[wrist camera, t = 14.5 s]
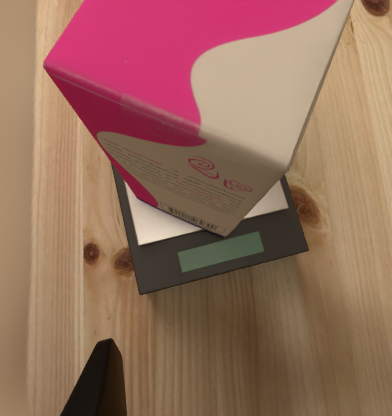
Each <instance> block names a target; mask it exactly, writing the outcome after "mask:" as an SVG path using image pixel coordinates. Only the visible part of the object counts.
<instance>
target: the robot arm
mask: <svg viewBox="0 0 392 416" xmlns="http://www.w3.org/2000/svg"><path fill="white" fill-rule="evenodd" d="M60 416H127V408H126V396H125V384H124V372H123V361H122V355H121V353H120V351H119V349H118V347H117V345H116V344H115V342H114V340H113V339H111V338H109V339H105V340H102V341H99V342H98V343H97V344H96V346H95V348H94V350H93V352H92V354H91V356H90V358H89V360H88V361H87V363H86V365H85V367H84V369H83V371H82V373H81V375H80V377H79V379H78V381H77V383H76V385H75V387H74V389H73V391H72V393H71V395H70V397H69V399H68V401H67V403H66V405H65V407H64V409H63V411H62V413H61V415H60Z"/></svg>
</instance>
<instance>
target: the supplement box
mask: <svg viewBox="0 0 392 416" xmlns="http://www.w3.org/2000/svg"><path fill="white" fill-rule="evenodd" d="M353 3H354V0H84V1H83V3H82V4H81V6H80V7H79V9H78V10H77V12H76V13H75V15H74V16H73V18H72V19H71V21H70V22H69V24H68V25H67V27H66V29H65V30H64V32H63V33H62V35H61V36H60V38H59V39H58V40H57V42H56V43H55V45H54V46H53V48H52V49H51V51H50V53H49V54H48V56H47V57H46V59H45V60H44V64H43V67H44V69H45V70H46V72H47V73H48V75H49V76H50V77H51V79H52V80H53V82H54V83H55V84H56V86H57V87H58V88H59V90H60V91H61V93H62V94H63V95H64V97H65V98H66V99H67V101H68V102H69V104H70V105H71V106H72V108H73V109H74V111H75V112H76V113H77V115H78V116H79V118H80V119H81V120H82V122H83V123H84V125H85V126H86V127H87V129H88V130H89V132H90V133H91V134H92V136H93V137H94V138H95V140H96V141H97V143H98V144H99V145H100V147H101V148H102V150H103V151H104V152H105V154H106V155H107V157H108V158H109V160H110V161H111V162H112V164H113V165H114V167H115V168H116V169H117V171H118V172H119V174H120V175H121V176H122V178H123V179H124V180H125V182H126V183H127V185H128V186H129V187H130V189H131V190H132V192H133V193H134V195H135V196H136V198H137V199H139V200H141V201H142V202H144V203H147V204H149V205H151V206H153V207H155V208H157V209H159V210H161V211H164V212H166V213H168V214H170V215H173V216H175V217H177V218H179V219H181V220H184V221H186V222H188V223H190V224H193V225H195V226H197V227H200V228H202V229H204V230H207V231H209V232H211V233H214V234H216V235H219V236H221V237H223V238H225V237H226V236H227V235H229V234H230V232H231V231H232V230H233V229H234V228H235V227H236V226H237V225H238V224H239V223H240V222H241V221H242V220H243V218H244V217H245V216H246V215H247V214H248V213H249V212H250V211H251V210H252V209H253V207H254V206H255V205H256V204H257V203H258V202H259V201H260V200H261V199H262V198H263V197H264V196H265V195H266V194H267V193H268V191H269V190H270V189H271V188H272V187H273V186H274V185H275V184H276V183H277V182H278V181H279V180H280V179H281V178H282V177H283V175H284V174H285V173H286V172H287V171H288V170H289V168H290V166H291V165H292V162H293V159H294V157H295V154H296V152H297V150H298V147H299V145H300V142H301V140H302V137H303V135H304V132H305V129H306V127H307V124H308V121H309V119H310V116H311V113H312V111H313V108H314V106H315V103H316V101H317V98H318V95H319V93H320V90H321V88H322V85H323V82H324V80H325V77H326V74H327V72H328V69H329V66H330V64H331V61H332V58H333V56H334V53H335V51H336V48H337V45H338V43H339V40H340V37H341V35H342V32H343V29H344V27H345V24H346V21H347V19H348V16H349V13H350V11H351V8H352V5H353Z"/></svg>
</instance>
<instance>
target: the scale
mask: <svg viewBox="0 0 392 416" xmlns="http://www.w3.org/2000/svg"><path fill="white" fill-rule="evenodd" d="M111 165H112V169H113V174H114V179H115V183H116V188H117V193H118V197H119V202H120V207H121V211H122V216H123V221H124V225H125V230H126V235H127V239H128V244H129V249H130V253H131V258H132V263H133V267H134V272H135V277H136V281H137V286H138V291H139V294H140V295H143V294H147V293H151V292H155V291H158V290H162V289H166V288H170V287H174V286H177V285H181V284H185V283H189V282H193V281H196V280H200V279H204V278H208V277H212V276H215V275H219V274H223V273H227V272H230V271H234V270H238V269H242V268H246V267H249V266H253V265H257V264H261V263H265V262H268V261H272V260H276V259H280V258H284V257H287V256H291V255H295V254H299V253H303V252H306V251H309V249H308V246H307V242H306V239H305V236H304V233H303V230H302V227H301V224H300V221H299V218H298V214H297V211H296V208H295V205H294V202H293V199H292V196H291V193H290V190H289V186H288V183H287V180H286V177H285V174H284V175H283V177H282V178H281V179H280V180H279V181H278V182H277V183H276V184H275V185H274V186H273V187H272V188H271V189H270V190H269V191H268V193H267V194H266V195H265V196H264V197H263V198H262V199H261V200H260V201H259V202H258V203H257V204H256V205H255V206H254V207H253V209H252V210H251V211H250V212H249V213H248V214H247V215H246V216H245V217H244V218H243V220H242V221H241V222H240V223H239V224H238V225H237V226H236V227H235V228H234V229H233V230H232V231H231V232H230V234H229V235H227V236H226V237H225V238H223V237H221V236H219V235H216V234H214V233H211V232H209V231H207V230H204V229H202V228H200V227H197V226H195V225H193V224H190V223H188V222H186V221H184V220H181V219H179V218H177V217H175V216H173V215H170V214H168V213H166V212H164V211H161V210H159V209H157V208H155V207H153V206H151V205H149V204H147V203H144V202H142V201H141V200H139V199H137V198H136V196H135V195H134V193H133V192H132V190H131V189H130V187H129V186H128V185H127V183H126V182H125V180H124V179H123V178H122V176H121V175H120V174H119V172H118V171H117V169H116V168H115V167H114V165H113V164H112V162H111Z"/></svg>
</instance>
